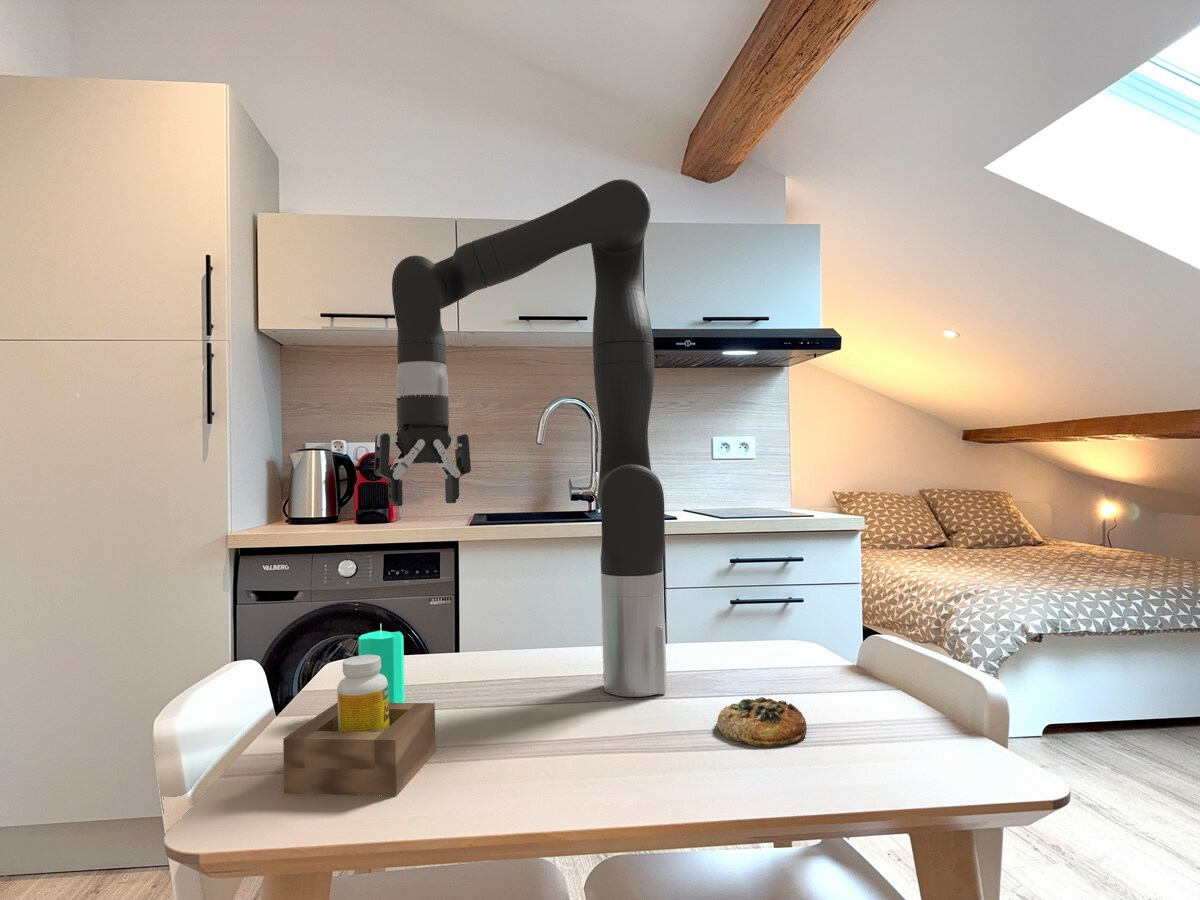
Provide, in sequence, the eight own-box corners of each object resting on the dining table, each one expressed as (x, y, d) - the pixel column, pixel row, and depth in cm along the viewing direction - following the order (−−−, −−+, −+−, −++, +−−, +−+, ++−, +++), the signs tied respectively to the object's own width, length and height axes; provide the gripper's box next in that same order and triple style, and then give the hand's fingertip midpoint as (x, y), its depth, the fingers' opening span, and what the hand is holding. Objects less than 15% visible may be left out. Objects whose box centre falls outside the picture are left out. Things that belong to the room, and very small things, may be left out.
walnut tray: (435, 754, 87) (434, 703, 88) (396, 799, 75) (395, 739, 76) (337, 753, 89) (337, 702, 89) (284, 797, 77) (283, 738, 77)
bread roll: (817, 723, 94) (813, 684, 94) (796, 766, 84) (791, 724, 84) (732, 715, 99) (728, 678, 99) (703, 755, 90) (698, 714, 89)
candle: (391, 719, 100) (390, 628, 100) (350, 717, 101) (349, 627, 101) (412, 705, 105) (410, 619, 106) (373, 703, 107) (371, 619, 107)
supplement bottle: (336, 743, 84) (333, 657, 84) (386, 733, 86) (382, 650, 86) (342, 760, 79) (338, 668, 79) (394, 749, 81) (390, 661, 81)
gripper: (454, 399, 118) (456, 502, 118) (366, 395, 109) (367, 506, 109) (477, 394, 112) (479, 503, 112) (386, 390, 103) (388, 507, 103)
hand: (424, 504), depth 110 cm, fingers open, 8 cm apart
